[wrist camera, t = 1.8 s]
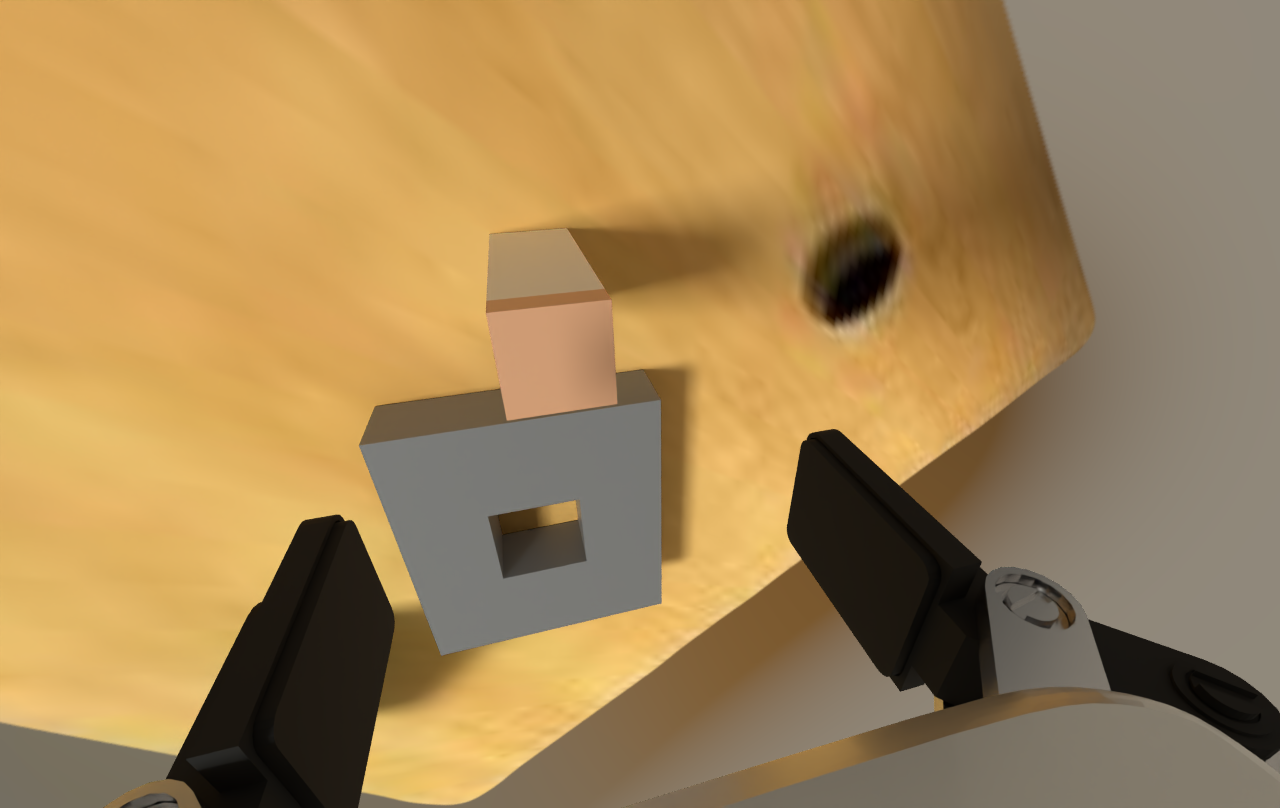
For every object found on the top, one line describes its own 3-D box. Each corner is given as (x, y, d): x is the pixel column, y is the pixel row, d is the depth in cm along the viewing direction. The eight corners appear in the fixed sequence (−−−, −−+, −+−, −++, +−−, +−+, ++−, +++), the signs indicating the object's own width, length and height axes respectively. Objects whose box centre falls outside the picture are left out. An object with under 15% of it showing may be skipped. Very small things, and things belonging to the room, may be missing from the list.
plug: (489, 234, 25) (485, 313, 15) (566, 228, 26) (611, 299, 16) (502, 308, 27) (506, 420, 17) (573, 300, 28) (617, 404, 18)
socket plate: (374, 406, 28) (359, 445, 25) (643, 369, 32) (660, 399, 28) (445, 607, 38) (441, 655, 34) (647, 563, 41) (661, 603, 37)
